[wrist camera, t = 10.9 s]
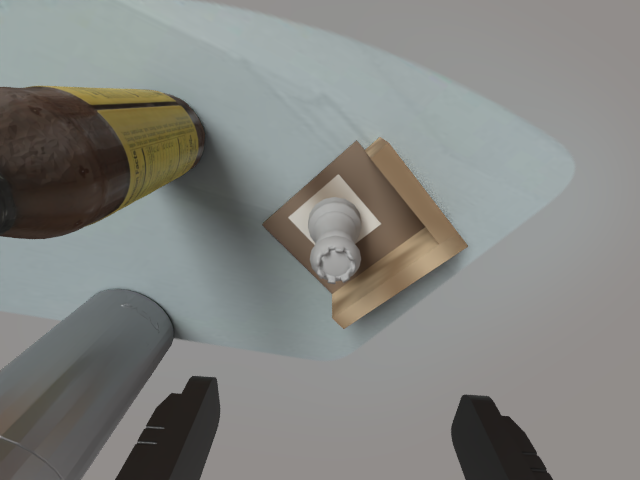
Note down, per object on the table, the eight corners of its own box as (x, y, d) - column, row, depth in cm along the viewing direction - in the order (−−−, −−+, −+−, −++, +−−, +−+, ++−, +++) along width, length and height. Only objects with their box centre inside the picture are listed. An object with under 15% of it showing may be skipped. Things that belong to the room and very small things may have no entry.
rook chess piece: (369, 207, 25) (385, 248, 18) (348, 251, 27) (354, 306, 20) (319, 187, 25) (314, 221, 17) (300, 234, 27) (288, 283, 19)
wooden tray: (342, 301, 30) (343, 329, 26) (262, 223, 27) (251, 241, 23) (449, 226, 26) (468, 246, 23) (372, 126, 23) (379, 130, 20)
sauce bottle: (115, 134, 24) (-547, 223, 6) (159, 71, 22) (-615, -77, 4) (181, 191, 26) (-176, 397, 8) (227, 138, 24) (-101, 243, 6)
